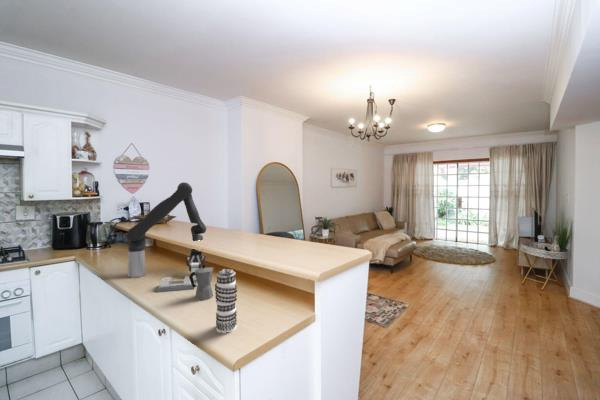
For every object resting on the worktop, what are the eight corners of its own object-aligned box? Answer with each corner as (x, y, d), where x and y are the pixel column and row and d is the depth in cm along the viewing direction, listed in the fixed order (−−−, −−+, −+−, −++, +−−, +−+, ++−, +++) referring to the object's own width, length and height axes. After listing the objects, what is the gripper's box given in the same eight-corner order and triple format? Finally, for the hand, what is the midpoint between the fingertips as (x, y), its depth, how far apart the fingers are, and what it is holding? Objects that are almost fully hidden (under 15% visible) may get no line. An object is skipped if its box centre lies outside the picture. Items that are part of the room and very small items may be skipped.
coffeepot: (208, 291, 154) (208, 260, 153) (219, 294, 149) (219, 263, 148) (184, 300, 141) (183, 267, 140) (195, 305, 136) (195, 270, 135)
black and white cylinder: (212, 325, 116) (212, 269, 115) (233, 320, 121) (233, 266, 119) (218, 336, 108) (217, 275, 107) (240, 329, 113) (239, 271, 112)
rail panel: (156, 292, 152) (156, 283, 152) (161, 284, 164) (161, 276, 163) (194, 288, 157) (194, 280, 157) (196, 281, 169) (196, 274, 168)
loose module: (191, 278, 175) (190, 264, 175) (192, 275, 179) (191, 262, 179) (198, 277, 176) (198, 264, 176) (199, 275, 181) (199, 262, 180)
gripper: (185, 246, 182) (182, 269, 171) (207, 245, 186) (205, 267, 175) (186, 251, 188) (183, 274, 177) (207, 250, 191) (206, 272, 180)
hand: (194, 270), depth 176 cm, fingers closed on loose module, 4 cm apart
